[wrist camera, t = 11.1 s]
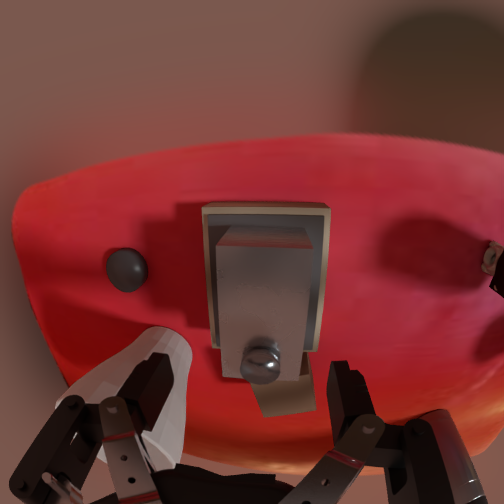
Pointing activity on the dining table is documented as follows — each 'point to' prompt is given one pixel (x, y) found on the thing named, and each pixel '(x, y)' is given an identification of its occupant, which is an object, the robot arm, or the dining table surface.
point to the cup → (118, 370)
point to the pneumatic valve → (495, 266)
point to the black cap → (127, 269)
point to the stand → (278, 215)
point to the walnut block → (288, 393)
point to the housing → (263, 301)
